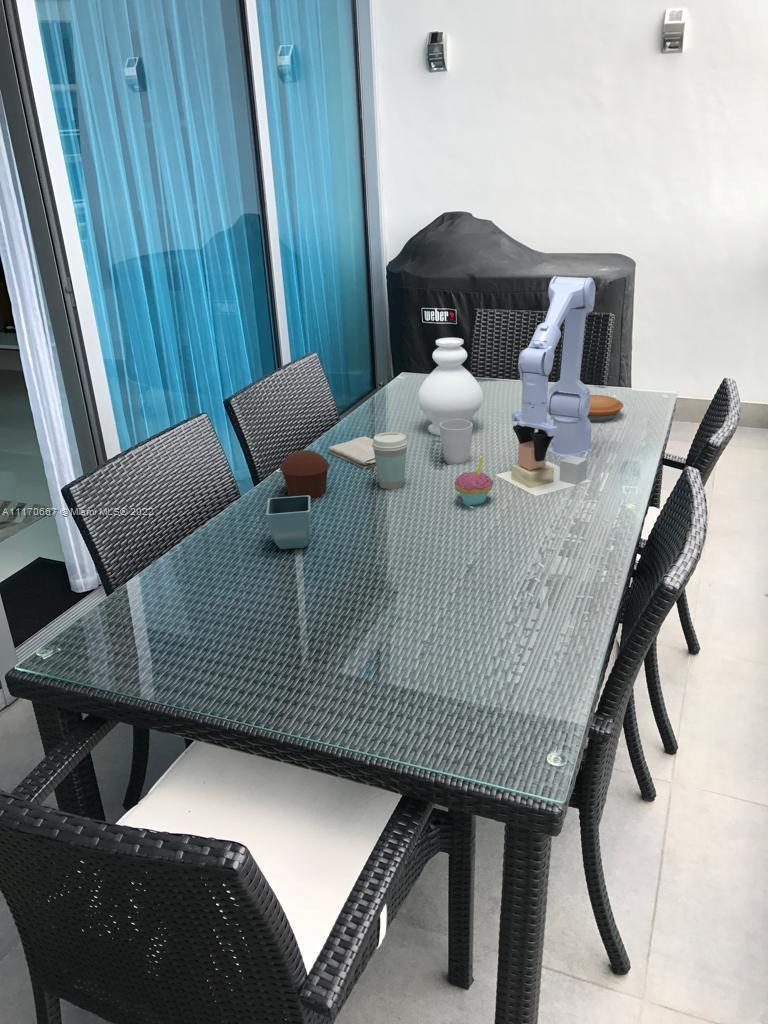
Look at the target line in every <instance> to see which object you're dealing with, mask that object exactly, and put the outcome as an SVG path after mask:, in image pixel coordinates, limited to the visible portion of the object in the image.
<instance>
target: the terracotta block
mask: <svg viewBox="0 0 768 1024" xmlns="http://www.w3.org/2000/svg"><path fill="white" fill-rule="evenodd" d="M517 448H518V450H517V451H518V453H517V460H518V461H517V464H518V465H521V466H523V467H525V468H527V469H529V470H532V469H536V468H540V467H544V466H546V462H547V461H546V460H547V454H546V455H545V459H544V460H543V461H539V462H537V461H535V454H534V444H533V441H530V442H526V443H522V444H519V443H518V447H517Z"/></svg>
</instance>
